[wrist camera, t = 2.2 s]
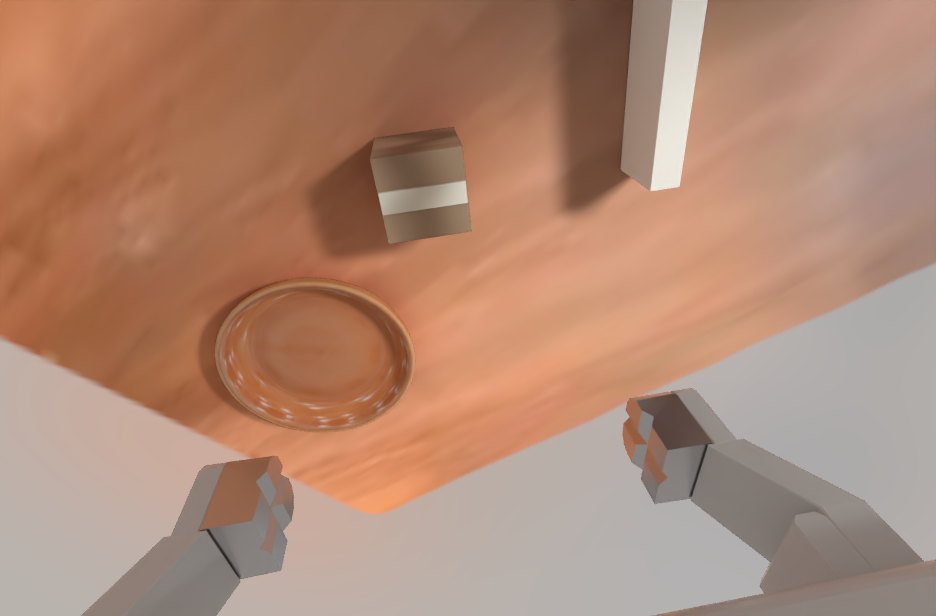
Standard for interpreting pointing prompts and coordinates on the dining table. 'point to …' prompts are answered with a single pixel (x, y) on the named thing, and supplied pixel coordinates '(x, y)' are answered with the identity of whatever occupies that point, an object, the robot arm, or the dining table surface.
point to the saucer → (315, 355)
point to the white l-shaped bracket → (660, 89)
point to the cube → (421, 184)
